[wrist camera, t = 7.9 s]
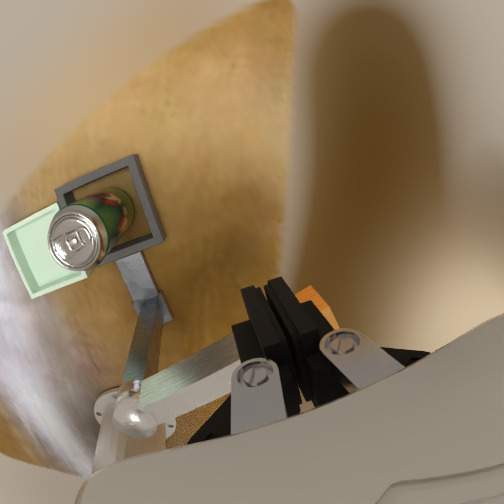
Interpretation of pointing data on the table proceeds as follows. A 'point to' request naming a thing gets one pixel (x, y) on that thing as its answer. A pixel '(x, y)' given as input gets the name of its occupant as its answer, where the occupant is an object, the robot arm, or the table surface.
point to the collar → (144, 196)
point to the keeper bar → (187, 382)
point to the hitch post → (144, 317)
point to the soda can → (89, 228)
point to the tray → (38, 254)
